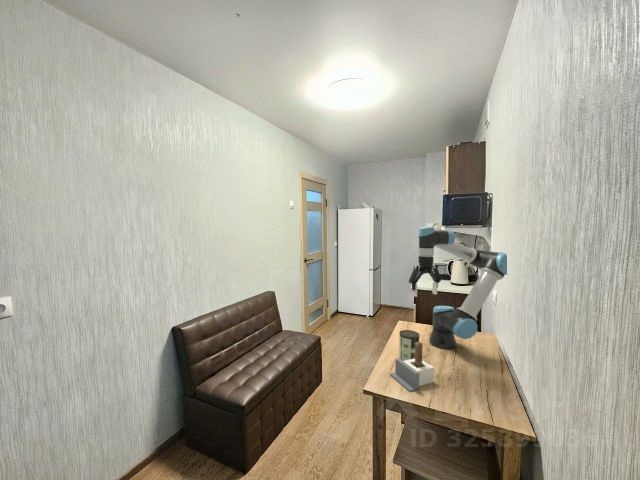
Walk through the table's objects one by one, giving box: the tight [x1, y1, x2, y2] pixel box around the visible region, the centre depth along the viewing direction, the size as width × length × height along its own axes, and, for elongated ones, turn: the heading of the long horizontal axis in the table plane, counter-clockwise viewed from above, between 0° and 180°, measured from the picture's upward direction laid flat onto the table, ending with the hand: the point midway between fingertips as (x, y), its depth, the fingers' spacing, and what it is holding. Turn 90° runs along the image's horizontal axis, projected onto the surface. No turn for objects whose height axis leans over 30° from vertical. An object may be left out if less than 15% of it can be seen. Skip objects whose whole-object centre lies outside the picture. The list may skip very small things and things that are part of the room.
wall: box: [389, 357, 420, 393], centre depth 124 cm, size 5×14×8 cm, turn 21°
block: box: [403, 358, 435, 387], centre depth 127 cm, size 10×10×7 cm
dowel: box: [415, 341, 423, 368], centre depth 127 cm, size 3×3×16 cm
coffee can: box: [398, 329, 420, 361], centre depth 146 cm, size 10×10×14 cm
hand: (424, 295), depth 145 cm, fingers open, 13 cm apart
